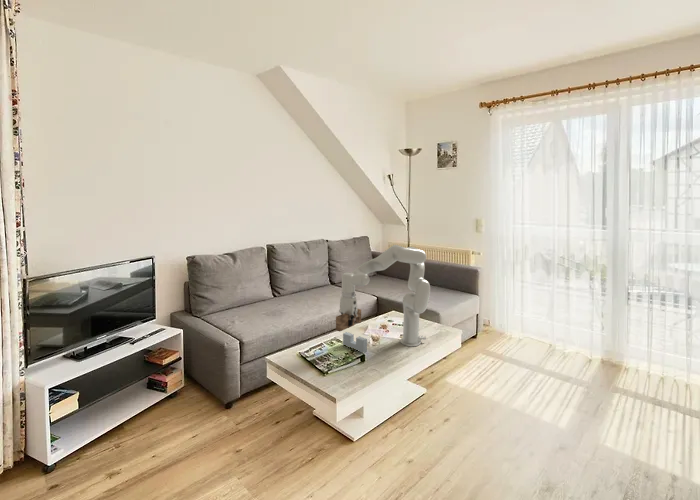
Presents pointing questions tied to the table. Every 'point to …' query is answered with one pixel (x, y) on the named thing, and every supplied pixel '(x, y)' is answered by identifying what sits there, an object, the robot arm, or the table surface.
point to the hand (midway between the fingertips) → (348, 324)
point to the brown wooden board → (346, 320)
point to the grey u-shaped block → (358, 345)
